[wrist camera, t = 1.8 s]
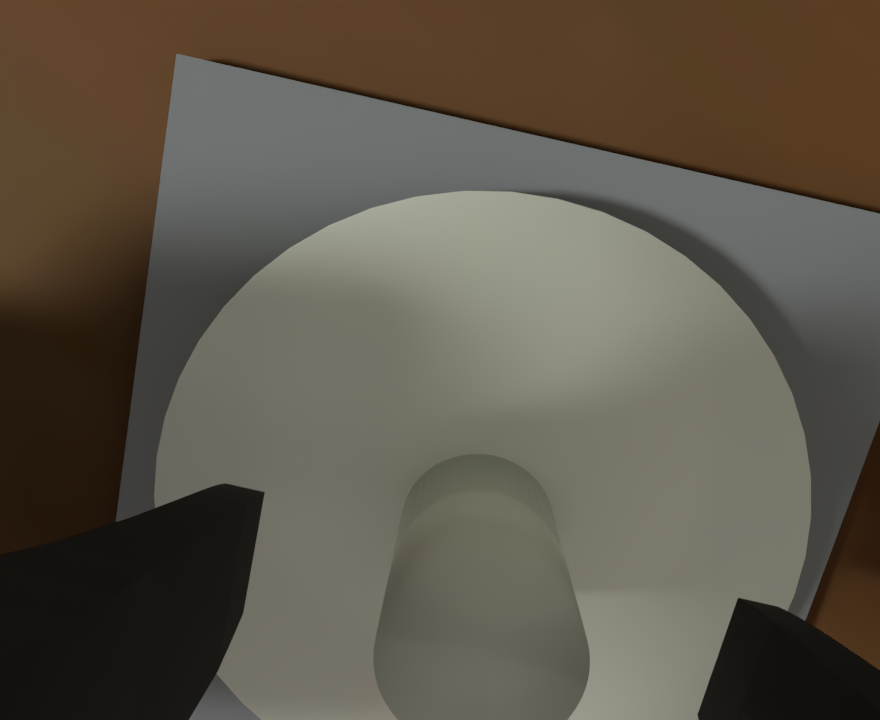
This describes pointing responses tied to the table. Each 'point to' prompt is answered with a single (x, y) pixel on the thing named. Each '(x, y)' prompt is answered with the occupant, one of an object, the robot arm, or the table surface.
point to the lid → (491, 466)
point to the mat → (490, 169)
